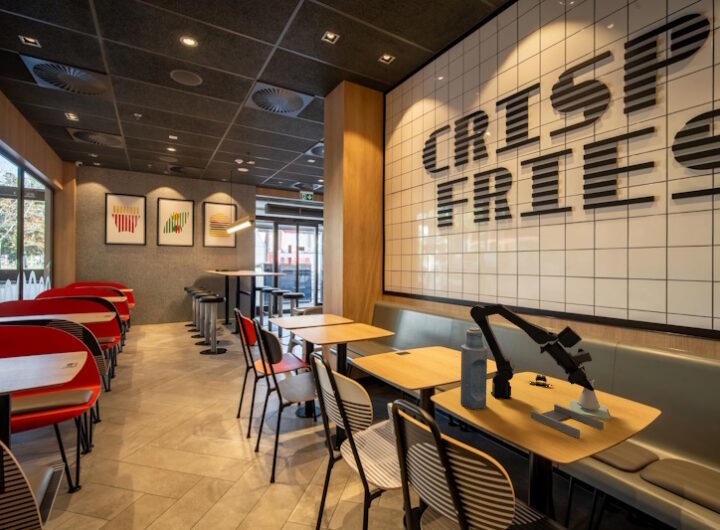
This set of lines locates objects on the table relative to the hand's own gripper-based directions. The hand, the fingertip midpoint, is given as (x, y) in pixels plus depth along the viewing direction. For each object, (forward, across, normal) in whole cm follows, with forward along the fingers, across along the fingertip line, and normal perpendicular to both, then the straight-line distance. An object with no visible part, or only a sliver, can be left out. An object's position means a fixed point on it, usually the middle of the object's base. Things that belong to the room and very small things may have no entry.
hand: (592, 389), depth 137 cm
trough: (0, -16, +13) cm, 20 cm away
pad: (+5, 0, +7) cm, 9 cm away
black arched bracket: (-6, +24, +19) cm, 31 cm away
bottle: (-22, -15, +35) cm, 44 cm away
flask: (+4, 0, +6) cm, 7 cm away
